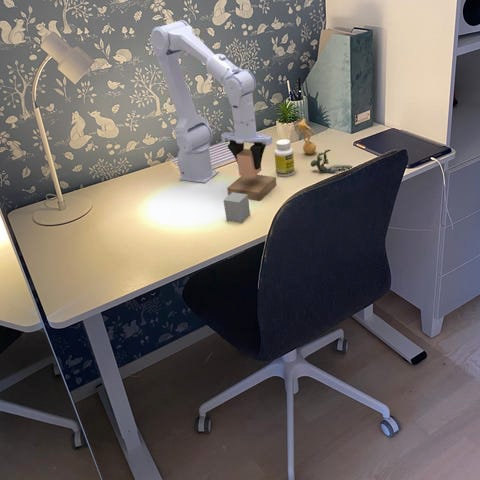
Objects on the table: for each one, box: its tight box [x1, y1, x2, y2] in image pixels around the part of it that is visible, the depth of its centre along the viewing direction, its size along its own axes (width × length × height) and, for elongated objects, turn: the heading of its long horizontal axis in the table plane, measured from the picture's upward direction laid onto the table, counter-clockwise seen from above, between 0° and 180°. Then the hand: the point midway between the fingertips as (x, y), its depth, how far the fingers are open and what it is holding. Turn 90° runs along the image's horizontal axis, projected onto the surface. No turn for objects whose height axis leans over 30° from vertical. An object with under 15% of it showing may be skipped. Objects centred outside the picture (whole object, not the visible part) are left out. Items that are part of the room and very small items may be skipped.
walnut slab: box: [226, 174, 277, 202], centre depth 152 cm, size 10×10×3 cm
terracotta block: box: [236, 148, 262, 177], centre depth 148 cm, size 4×4×6 cm
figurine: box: [294, 118, 318, 155], centre depth 166 cm, size 8×6×12 cm
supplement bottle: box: [274, 139, 295, 177], centre depth 158 cm, size 5×5×10 cm
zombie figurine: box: [310, 149, 353, 174], centre depth 155 cm, size 5×7×15 cm
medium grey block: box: [223, 192, 251, 224], centre depth 139 cm, size 4×4×6 cm
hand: (249, 167), depth 149 cm, fingers closed on terracotta block, 4 cm apart
